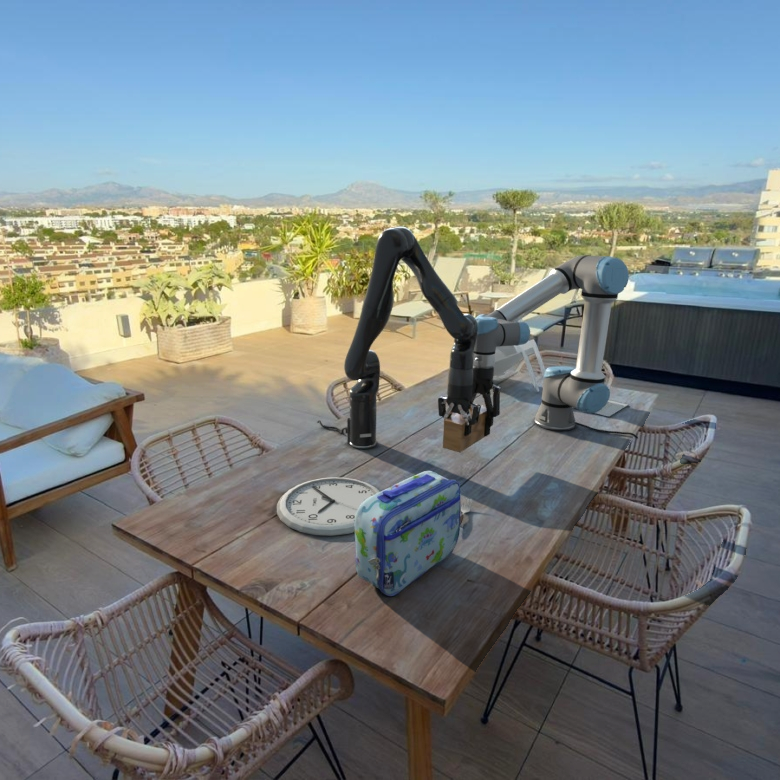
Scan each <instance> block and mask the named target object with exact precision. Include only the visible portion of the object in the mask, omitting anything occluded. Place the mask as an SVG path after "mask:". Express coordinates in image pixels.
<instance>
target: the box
mask: <svg viewBox="0 0 780 780" xmlns="http://www.w3.org/2000/svg"><path fill="white" fill-rule="evenodd" d="M474 404H475V405H479V403H474ZM480 405H481V404H480ZM469 410H470V412H471V418H472V413H473V411H472V408H470V409H469ZM465 414H466V413H465ZM487 416H488V415H487V410H486V406H485V405H481V409H480V414H479V420H478V422H477V423H475V424H474V425H472V428H471V434H469V435H468V436H464V433H465V425H466V423H465V421H464V419H463V418H462V415H460V414H458V413H454V414H452V415H451V417H449V418H447V419H445V420H444V419H443V432H442V435H443V436H442V448H443V449H446V450H449V451H452V452H456V453H459V454H460V453H463V452H464V451H465V450H467V449H468V448H470V447H471V446H473V445H475V444H477V443H478V442H480V440H482V439H484V438H485V437H486V436H484V430H485V417H487Z"/></svg>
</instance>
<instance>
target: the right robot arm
mask: <svg viewBox="0 0 780 780" xmlns="http://www.w3.org/2000/svg"><path fill="white" fill-rule="evenodd" d="M629 277H630V275H629V268H628V266H627V264H626V263H625V261H623V260H622V259H620V258H618V257H613V256H609V255H605V256H603V255H590V254H582V255H578V256H574V257H572V258H571V259H569V260H566V261H564V262H563V263H561V264H559V265H558V266H556V267H555V268H553V269H551V270H550V271H549V273H548V275H547V276H546V277H545V278H543V279H542V280H540V281H538V282H537V283H535V284H534V285H532V286H531V287H529V288H527V289H526V290H524V291H523V292H521V293H520V294H518V295H517V296H515V297H514V298H512V299H510V300H509V301H508V302H506V303H504V304H502V305H501V306H500V307H498V308H496V309H495V310H494V311H492V312H490V313H488V314H487V313H484V314H483V313H481V314H479V315H477V316H476V317H474V318H475V319H476V321H477V324H478V333H477V339H476V344H475V348H474V361H473V388H472V398H471V401H472V404H474V401H475V399H476V396H477V394H480V395H482V398H483V400H484V401H483V402H484V406H486V410H487V415H488V416H487V417H485V430H484V436H485V437H488V436H490V434H491V427H493V425H494V418H496V417H498V416H500V415H501V413H500V411H501V406H500V405H501V391H502V386H497V385H496V384H495V383H494V376H493V375H494V367H493V366H494V363H495V351H496V347H500V346H514V345H516V346H518V345H522V344H525V343H527V342H528V340H529V341H530V338H531V329H530V326H529V325H528V324H529V323H528V324H527V322H526V321H523V322H518V321H519V320H520V319H522V320H523V318H525V317H526V316H528V315H529V314H532V313H533V312H534V311H536V310H538V309H539V308H540V307H542V306H543V305H545V304H547V303H548V302H549V301H552V300H553V299H554V298H556V297H558V296H559V295H565V294H568V293H569V292H571V291H572V290H577V289H578V290H581V295H580V296H581V298H582V299H583V300H584V307H583V314H582V321H581V327H580V328H581V329H580V333H579V334H580V336H579V341H578V342H579V343H578V350H577V355H576V356H577V357H576V363H575V367H574V366H566V365H565V366H564V365H562V366H561V365H559V366H558V365H557V366H549V367H547V368H545V374H544V378H543V381H542V392H541V402H540V405H539V407H538V410H537V411H536V413H535V417H534V424H535V425H536V426H537V427H539V428H542V429H544V430H549V431H556V432H567V431H572V430H574V429H575V428H576V425H577V426H580V427H583V428H586V429H589V430H592V431H595V432H600V433H605V434H616V435H617V434H618V435H629V436H632V437H634V438H635V439H639V437H638V435H636V433H633V432H629V431H627V432H626V431H617V430H606V429H604V430H603V429H599V428H596V427H595V428H594V427H591V426H588V425H586V424H583V423H580V422H577V421H576V418H575V417H576V416H575V413H574V409H575V410H578V411H579V412H582V413H586V414H591V415H592V414H596V412H598V411H600V410H601V409H602V408H603V407H604V406H605V405H606V404H607V402H608V400H610V395H611V390H610V388H609V386H608V385H607V384H605V379H606V375H605V374H604V373H603V371H602V370H603V362H604V357H605V350H606V345H607V344H606V343H607V337H608V330H609V324H610V318H611V311H612V306H613V305H612V304H613V303H614V302H615V301H617V300H618V298H619V294H620V293H622V292H623V291H624V290H625V288H626V287H627V286H628V283H629ZM491 390H492V393H493V394H491ZM491 395H492V397H491Z"/></svg>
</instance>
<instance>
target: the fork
mask: <svg viewBox="0 0 780 780" xmlns="http://www.w3.org/2000/svg"><path fill="white" fill-rule="evenodd" d="M465 498H466V497H464V498H463V501H462V504H461V508H460V512H462V514H460V526H461V525H462V524H463V520H464V515H465V514H467V513H470V512H471V509H472V504H473V500H471V498H469V499H466V500H465ZM470 500H471V501H470Z"/></svg>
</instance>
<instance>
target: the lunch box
mask: <svg viewBox="0 0 780 780" xmlns="http://www.w3.org/2000/svg"><path fill="white" fill-rule="evenodd" d="M380 491H381V492H379V493H377V494H375V495H373V496H371V497H369V498H367V499H366V500H364V501H363V502H362V504H361V505H360V506H359V508H358V510H357V513H356V516H355V532H354V543H355V545H354V546H355V548H354V551H355V552H354V553H355V570H356V573H357V577H359V578H360V579H361V580H362V581H363V580H364V581H365V582H367V583H369V584H371V585H373V586H374V587H375V588H377V589H379V591H380V592H381V593H382V594H384V595H386V596H387V597H394V596H396V595H398V594H399V593H400V592H402V591H403V590H404V589H405V588H407V587H408V586H409V585H410V584H412V583H413V582H414V581H416V580H417V579H418V578H421V576H423V575H424V574H425V573H427V572H428V571H429V570H430V569H431V568H432V567H434V566H435V565H437V564H438V563H440V562H442V561H443V560H445V559H446V558H448V557H449V556H450V555H451V554H452V552H453V551H454V550H455V548H456V545H457V544H458V540H459V537H460V529H461V525H460V516H461V507H462V504H461V485H460V483H459V482H458V481H457V480H456V479H449V478H446V477H444V476H442V475H440V474H439V473H437V472H434V471H432V470H425V471H422V472H419V473H417V474H415V475H413V476H410V477H408V478H406V479H403V480H401V481H400V482H398V483H395V484H393V485H392V486H389V487H387V488H385V489H384V490H380Z"/></svg>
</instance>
